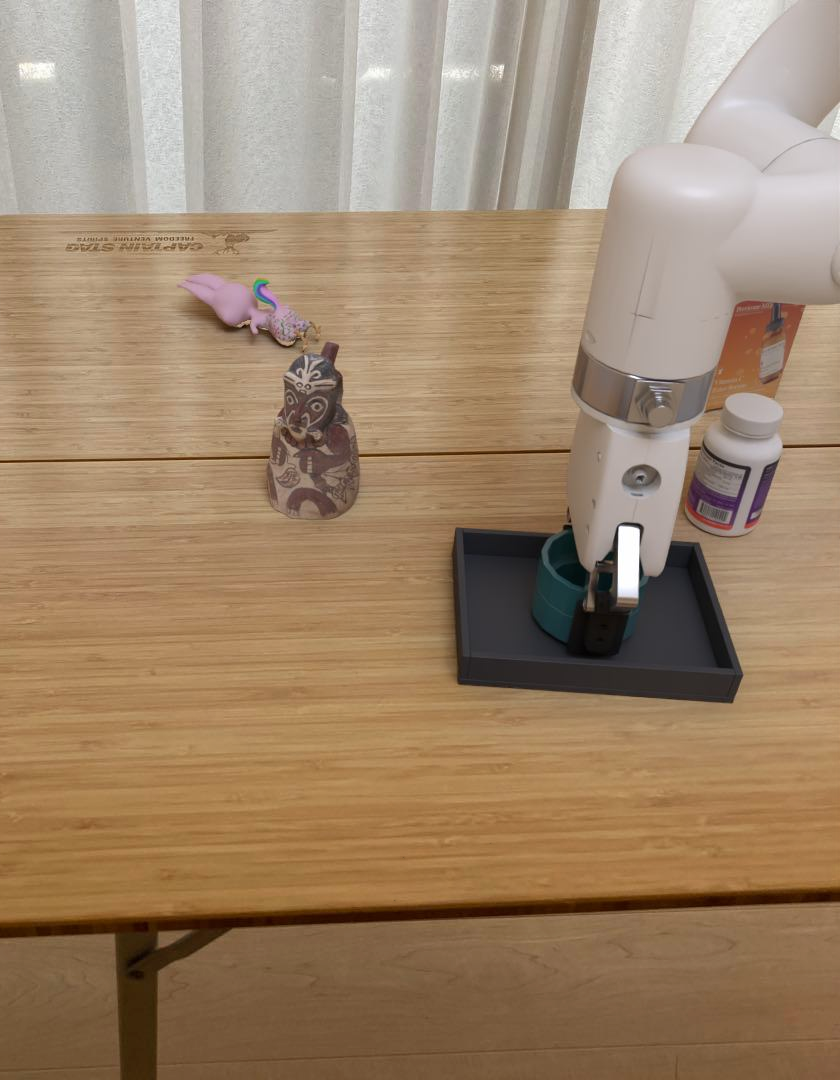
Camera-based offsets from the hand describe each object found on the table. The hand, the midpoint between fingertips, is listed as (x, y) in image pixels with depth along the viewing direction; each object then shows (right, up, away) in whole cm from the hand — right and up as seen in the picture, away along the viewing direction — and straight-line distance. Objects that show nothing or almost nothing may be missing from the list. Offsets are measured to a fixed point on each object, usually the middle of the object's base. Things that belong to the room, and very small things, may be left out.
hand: (584, 609), depth 74 cm
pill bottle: (+13, +6, +11) cm, 18 cm away
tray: (0, -1, +1) cm, 1 cm away
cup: (0, -1, 0) cm, 1 cm away
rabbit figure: (-24, +25, +33) cm, 47 cm away
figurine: (-18, +8, +12) cm, 23 cm away
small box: (+18, +18, +25) cm, 36 cm away
